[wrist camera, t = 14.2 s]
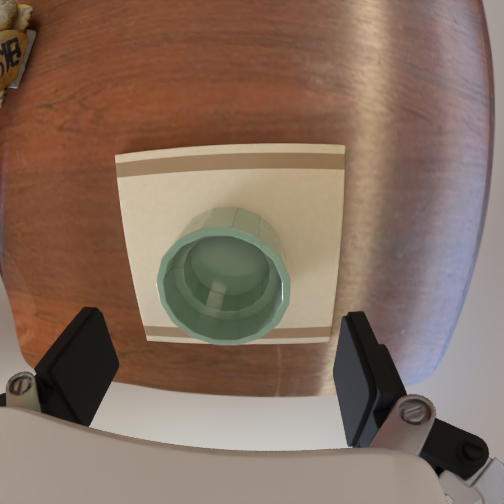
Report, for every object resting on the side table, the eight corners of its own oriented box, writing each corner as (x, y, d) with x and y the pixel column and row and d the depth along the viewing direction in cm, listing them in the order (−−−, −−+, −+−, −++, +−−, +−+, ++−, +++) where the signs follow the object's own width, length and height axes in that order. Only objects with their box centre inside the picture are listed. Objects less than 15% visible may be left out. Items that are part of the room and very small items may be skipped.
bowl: (284, 203, 18) (291, 226, 14) (283, 303, 21) (287, 345, 16) (172, 207, 18) (147, 230, 14) (184, 303, 21) (168, 343, 17)
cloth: (343, 144, 17) (345, 145, 16) (328, 338, 22) (329, 342, 22) (117, 154, 17) (114, 155, 17) (148, 337, 23) (147, 340, 22)
